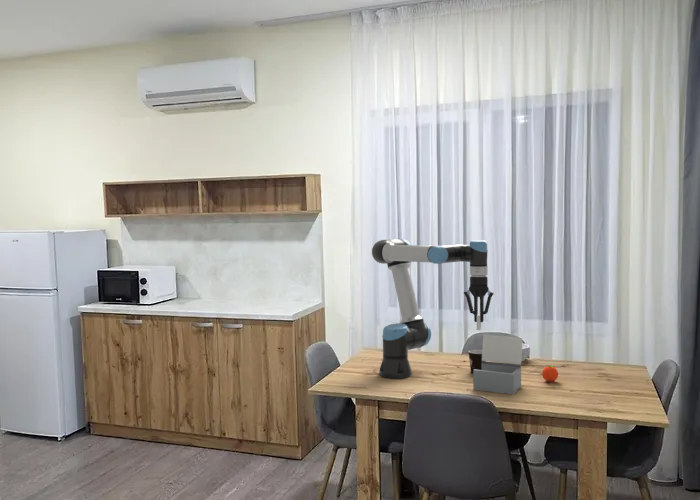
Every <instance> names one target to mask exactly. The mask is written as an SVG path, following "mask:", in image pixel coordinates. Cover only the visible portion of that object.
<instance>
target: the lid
mask: <svg viewBox="0 0 700 500" xmlns="http://www.w3.org/2000/svg"><path fill="white" fill-rule="evenodd" d="M522 343H523V338H522V337H516V336H514V337H513V336H503V335H492V334H491V335H490V334H483V335H482V349H481V350H482V361H486V362H496V363H505V364H515V365H521V366H522V362H521V359H522Z"/></svg>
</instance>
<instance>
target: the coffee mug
mask: <svg viewBox="0 0 700 500" xmlns="http://www.w3.org/2000/svg"><path fill="white" fill-rule="evenodd" d="M467 352H468V358H469V368H470V373H471V374H472V375H473V370H474V369H476V370H482V349H471V350H468V351H467Z"/></svg>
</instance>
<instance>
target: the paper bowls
mask: <svg viewBox="0 0 700 500" xmlns="http://www.w3.org/2000/svg"><path fill="white" fill-rule="evenodd" d="M530 355H531V345H529V344H526V343H523V342H522V359H521V363H522V362H524V361H525V360H526V358H527V357H530Z"/></svg>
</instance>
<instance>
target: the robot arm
mask: <svg viewBox="0 0 700 500" xmlns="http://www.w3.org/2000/svg"><path fill="white" fill-rule="evenodd" d="M488 250H489V249H488V242H487V241H486V240H470V241H469V244H457V243H456V244H455V243H454V244H449V245H421V244H419V245H416V244H414V245H413V244H412V243H410V242H409V241H408V240H406V239H403V238H396V239H395V238H393V239H392V238H391V239H381V240H378V241H376V242H375V243H374V245H373V246H372V248H371V256H372V259H374V261H376V262H377V263H379V264H381V265H382V264H385V265H386V264H387V269H388V270H390V271H391V274H392V278H393V283H394V288H395V293H396V296H397V302H398V306H399V311H400V317H401V319H400V322H399V323H398V322H397V323H391V324H387V325H385V326H384V327H383V329H382V335H381V337H382V360H381V364H380V367H379V372H378V373H379V376H380V377H382V378H386V379H405V378H410V377H412V367H411V365H410V361H409V351H411V350H414V349H419V348H422V347H425V346H427V345H428V344H429V343H430V340H431V338H432V330H431V326H430V325H428V323H426V322H425V321H424V317H422V316H421V315H420V312H419V308H418V303H417V298H416V294H415V289H414V285H413V279H412V276H411V271H410V266H411V265H412V263H414V262H415V263H432V264H435V265H438V264H439V265H441V264H446V263H447V264H449V263H458V262H461V263H462V262H463V263H465V262H467V263H468V262H469V275H470V277H469V288H468V290H465V291H463V294H464V296H465V298H466V301H467V304H468V305H467V306H468V310H469V313H470V314H472V315H473V316H474V318H473V321H474V323H476V330H477V331H481V330H482V323H483V322H484V320H485V319H484V318H485V317H484V316H485V315H487V314H488V312H489V309H490V305H491V300H492V297H493V296H494V291H492V290H490V288H489V286H488V285H489V283H488V282H489V281H488V280H489V279H488V274H489V273H488ZM486 294H487V300H486V303H485V301H484V299H485V296H486ZM471 295H472V296H473V303H472V299H471ZM478 304H479V306H478ZM484 304H485V305H484ZM484 306H485V307H484ZM478 309H479V310H478Z"/></svg>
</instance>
